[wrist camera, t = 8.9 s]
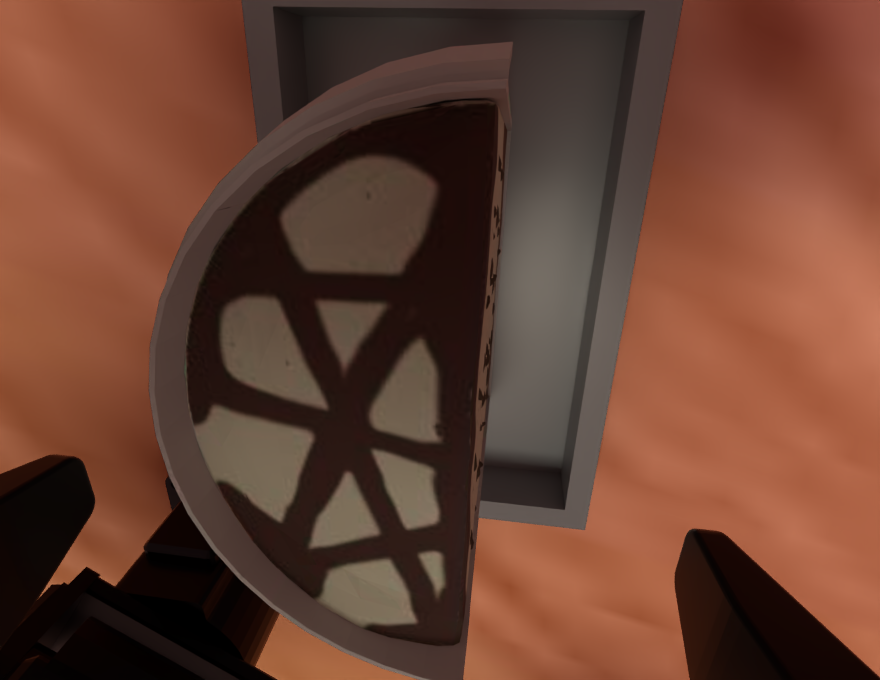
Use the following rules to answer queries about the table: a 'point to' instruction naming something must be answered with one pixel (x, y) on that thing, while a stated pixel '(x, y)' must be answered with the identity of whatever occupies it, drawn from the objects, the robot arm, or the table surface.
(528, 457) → the grey tray
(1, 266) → the table surface
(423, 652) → the food container
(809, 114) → the table surface
